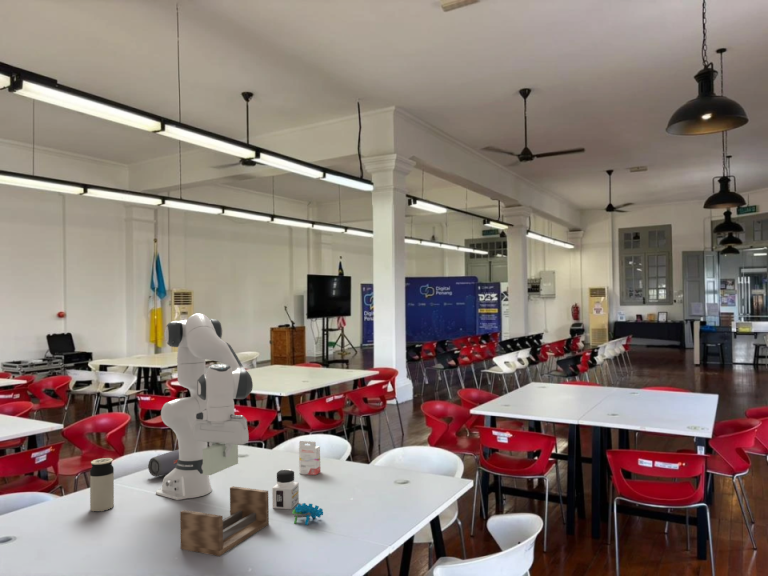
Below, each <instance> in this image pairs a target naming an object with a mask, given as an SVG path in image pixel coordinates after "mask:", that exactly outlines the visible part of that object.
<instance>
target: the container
mask: <svg viewBox="0 0 768 576" xmlns="http://www.w3.org/2000/svg"><path fill="white" fill-rule="evenodd" d="M299 490H300V489H299V482H298V481H295V471H294V470H293V469H290V468H289V469H287V468H286V469H281V470H279V471H277V472H276V484H275V485H274V486H272V489H271V491H272V492H271V493H272V508H273V509H279V510H280V509H282V510H293V508H295V507H296V506H297V505H298V504H299V501H300V494H299V492H300V491H299Z"/></svg>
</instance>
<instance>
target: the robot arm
mask: <svg viewBox="0 0 768 576" xmlns="http://www.w3.org/2000/svg"><path fill="white" fill-rule="evenodd" d="M222 336H223V327H222V324H221V322H220V321H219V320H218V319H215V318H209V317H208V316H207V315H206V314H204V313H194V314H191V315H190V316H188V318H187V319H184V320H172V321H170V322H169V323H168V324H166V326H165V330H164V339H165V341H166V344H167V345H168V346H169V347H173V348H177V356H176V357H177V358H176V362H177V363H176V365H177V366H176V367H177V382H178V383H179V385H180V386H181V387H183V388H184V389H185V388H186V389H188V392H189V394H190V396H188V397H180V398H176V399H172V400H170V401H167V402H165V403H164V404H163V406H162V407H161V411H160V418H161V420H162V422H163V424H164V425H165V426H167V427H168V428H170V429H171V430H172V432H174V434H175V437H176V439H177V442H178V443H177V444H178V445H177V446H178V450H179V459H178V460H175V461H176V462H174V463H177V464H176V468H175V469H173V470H172V471H171V472H170V473H169V474H167V475H164V477H163V480H162V485H161V486H162V487H160V488H158V489H156V491H155V495H158V496H161V497H166V498H169V499H173V500H175V501H179V500H180V501H181V500H185V499H193V498H199V497H203V496H206V495H208V494H210V493H211V492H212V491H213V489H212V485H211V481H210V480H211V479H210V475H203V449H204V448H207V447H210V446H213V445H216V444H219V443H225V446H226V447H227V448H226V450H225V451H223V457H229V456H230V450H231V448H232V446H233V444H236V445H238V446H242V445H246V444H248V442H249V440H250V439H249V438H250V437H249V436H250V435H249V430H248V428H249V427H248V420H247V418H246V417H245V416H244V415H242V414H239V415H237V414H235V400H244V399H246V398H247V397H249V395H250V394H251V393H252V392H253V388H254V387H253V386H254V385H253V384H254V383H253V380H252V375H251V374H250V373H249V371H247V370H246V368H245V367H244V366H243V364H242V362H241V360H240V358H239V357H238V355H237V354H236V352H235V350H234V349H233V347H232V346H231V345H230V343H228V342H226V341H224V340H223V338H222ZM206 360H207V361H214V362H218V363H215V364H211V365H209V366H208V368H207V369H206ZM208 445H209V446H208Z"/></svg>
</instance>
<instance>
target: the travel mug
mask: <svg viewBox="0 0 768 576" xmlns="http://www.w3.org/2000/svg"><path fill="white" fill-rule="evenodd" d="M113 461H114V459H113V458H111V457H105V458H104V457H102V458H97V459H93V460H91V461H90V464H91V468H90V472H89V473H90V474H89V479H90V480H89V483H90V484H89V488H90V489H89V497H90V498H89V507H90V508H89V509H90V512H94V511H101V512H105V511H104V510H106V511H108V509H109V510H111V509H112V508H113V507H114V506H115V503H114V502H115V501H114V500H115V499H114V497H115V495H114V493H115V492H114V491H115V490H114V489H115V488H114V486H115V485H114V483H115V482H114V479H115V474H114V471H115V469H114V466H113ZM110 508H111V509H110Z"/></svg>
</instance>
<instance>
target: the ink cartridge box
mask: <svg viewBox="0 0 768 576" xmlns="http://www.w3.org/2000/svg"><path fill="white" fill-rule="evenodd" d="M298 444H299V446H298V447H299V448H298V455H299V456H298V457H299V461H298V463H299V464H298V465H299V467H298V469H299V475H312V476H317V475H318V474H320V473H321V446H320V445H316V441H308V440H304V441H303V440H302V441H301V440H299V443H298ZM307 444H308V445H307Z"/></svg>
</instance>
